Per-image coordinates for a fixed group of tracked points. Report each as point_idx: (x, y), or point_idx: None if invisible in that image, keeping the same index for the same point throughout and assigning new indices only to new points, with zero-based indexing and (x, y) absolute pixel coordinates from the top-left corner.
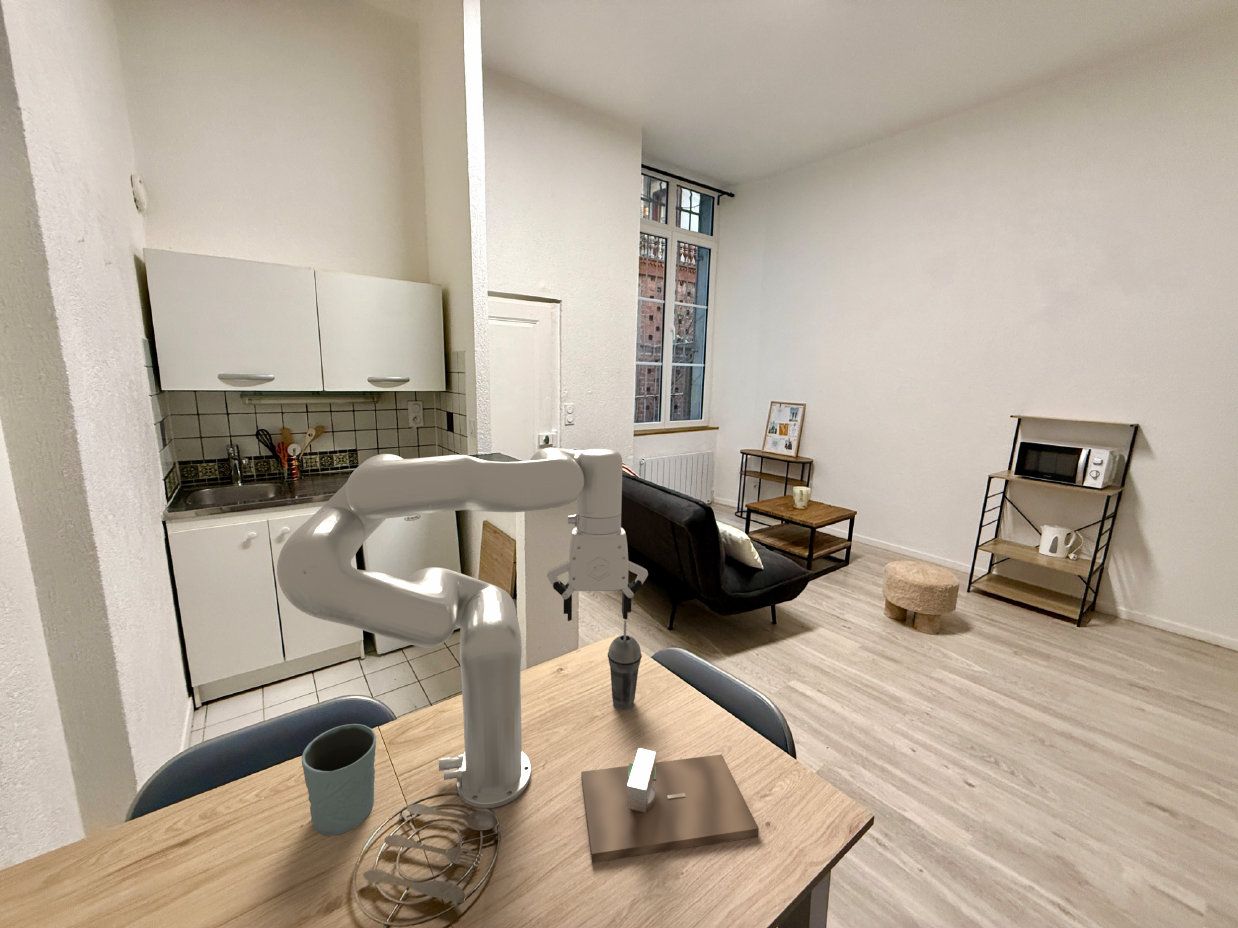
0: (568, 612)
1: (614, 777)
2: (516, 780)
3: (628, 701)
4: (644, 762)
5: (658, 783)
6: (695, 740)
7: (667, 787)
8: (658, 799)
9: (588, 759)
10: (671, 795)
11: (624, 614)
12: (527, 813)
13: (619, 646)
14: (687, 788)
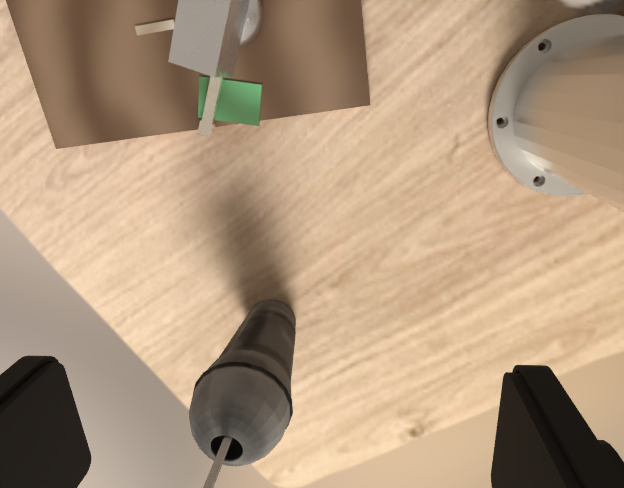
0: (578, 422)
1: (293, 85)
2: (528, 79)
3: (257, 310)
4: (198, 20)
5: None
6: (119, 206)
7: None
8: None
9: (352, 160)
10: (165, 28)
11: (22, 385)
12: (494, 5)
13: (247, 416)
14: (131, 50)
